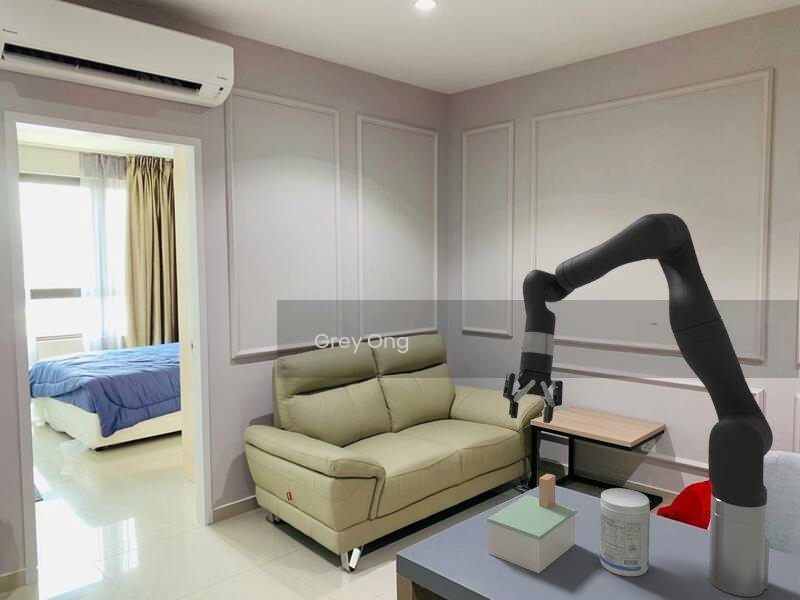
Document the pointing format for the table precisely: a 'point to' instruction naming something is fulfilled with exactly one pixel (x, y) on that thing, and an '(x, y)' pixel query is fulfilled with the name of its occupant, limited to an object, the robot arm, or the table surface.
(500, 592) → the table surface
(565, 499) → the table surface
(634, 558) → the supplement tub
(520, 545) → the parts tub
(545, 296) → the robot arm
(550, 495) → the lid
